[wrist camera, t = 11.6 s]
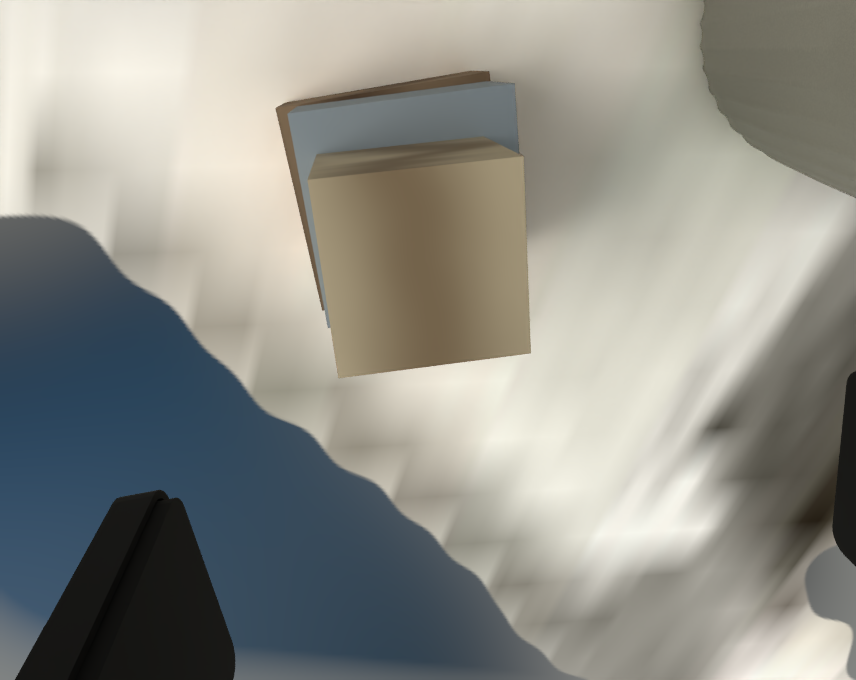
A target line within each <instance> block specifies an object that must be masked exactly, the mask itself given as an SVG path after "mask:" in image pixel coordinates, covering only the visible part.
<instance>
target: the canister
mask: <svg viewBox="0 0 856 680" xmlns="http://www.w3.org/2000/svg"><path fill="white" fill-rule="evenodd" d="M700 25H701V29H702V39H701V44H700V48H701V50H702V53H703V60H704V65H703V70H704V72H705V73H706V76H707V78H708V82H709V91H710V92H711V93H712V95H714V97H715V99H716V101H717V106H718V109H719V111H720V112H721V113H722V114H723V115H725V116H726V118H727V119H728V121H729V124H730V126H731V127H732V128H733V129H734V130H735V131H736V132H738V133H739V134H741V135H742V136H743V138H744V139H745V140H746V142H747V143H749V144H750V145H751V146H753V147H755V148H756V149H758V150H760V151H762V152H764V153H765V154H766V155H767V156H769V157H770V158H772V159H774V160H776V161H778V162H780V163H782V164H784V165H786V166H788V167H790V168H792V169H794V170H796V171H798V172H800V173H802V174H804V175H806V176H808V177H810V178H812V179H814V180H816V181H819V182H821V183H823V184H825V185H828V186H830V187H832V188H834V189H837V190H839V191H841V192H843V193H846V194H848V195H850V196H853V197H855V198H856V0H704V13H703V18H702V20H701V22H700Z"/></svg>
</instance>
